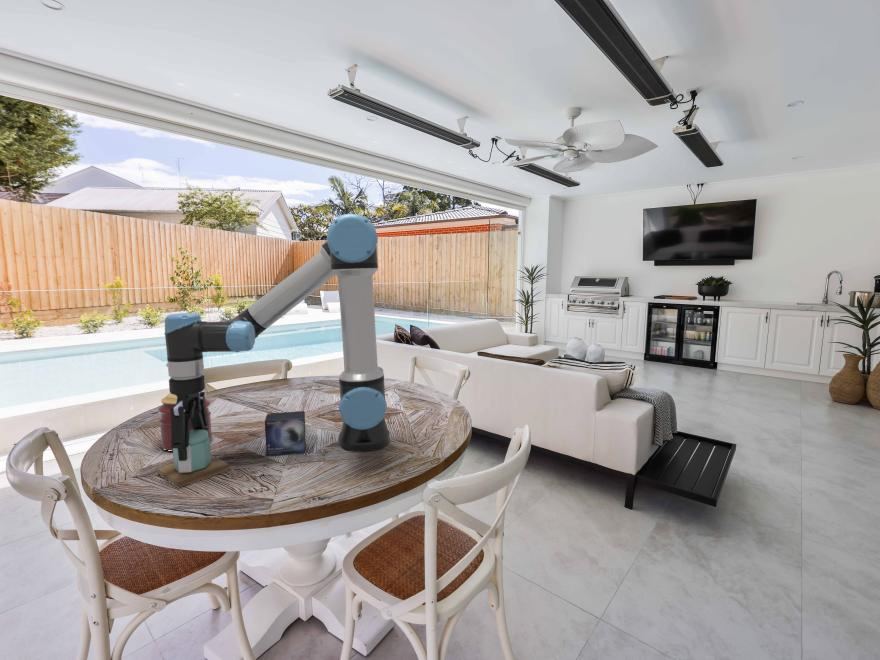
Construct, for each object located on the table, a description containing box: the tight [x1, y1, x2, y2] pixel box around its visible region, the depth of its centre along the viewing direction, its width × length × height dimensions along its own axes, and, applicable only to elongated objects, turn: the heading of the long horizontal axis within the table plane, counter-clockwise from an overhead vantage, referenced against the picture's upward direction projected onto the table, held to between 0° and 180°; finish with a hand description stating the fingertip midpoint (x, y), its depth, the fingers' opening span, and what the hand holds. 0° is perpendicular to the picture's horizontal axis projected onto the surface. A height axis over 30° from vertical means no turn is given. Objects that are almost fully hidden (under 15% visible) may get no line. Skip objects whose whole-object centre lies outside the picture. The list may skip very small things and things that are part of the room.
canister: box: [157, 392, 213, 451], centre depth 123 cm, size 13×13×18 cm
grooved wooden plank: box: [156, 454, 230, 488], centre depth 106 cm, size 12×12×8 cm
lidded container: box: [172, 429, 212, 472], centre depth 106 cm, size 8×8×8 cm
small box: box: [264, 410, 307, 457], centre depth 120 cm, size 11×6×10 cm, turn 106°
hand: (193, 463), depth 107 cm, fingers closed on lidded container, 8 cm apart
